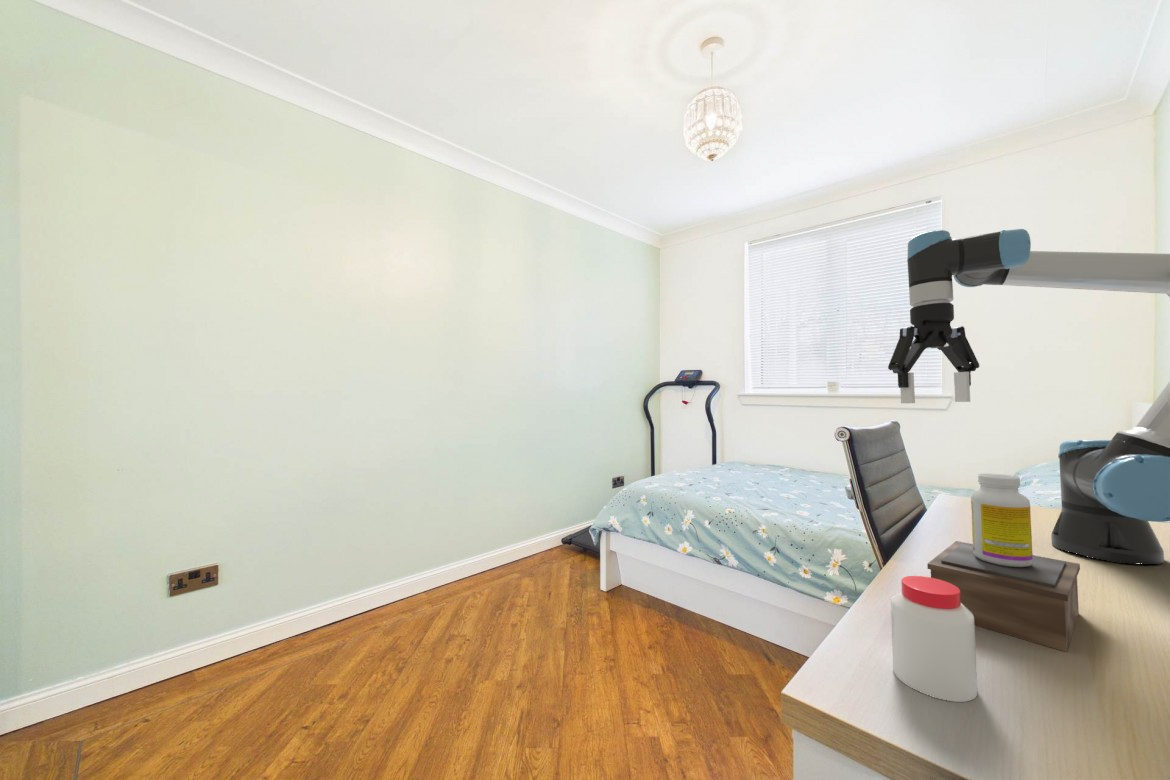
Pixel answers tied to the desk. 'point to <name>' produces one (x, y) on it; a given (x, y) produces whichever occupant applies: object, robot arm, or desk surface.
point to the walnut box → (1014, 594)
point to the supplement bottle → (1001, 522)
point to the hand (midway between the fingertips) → (935, 402)
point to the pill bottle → (934, 639)
